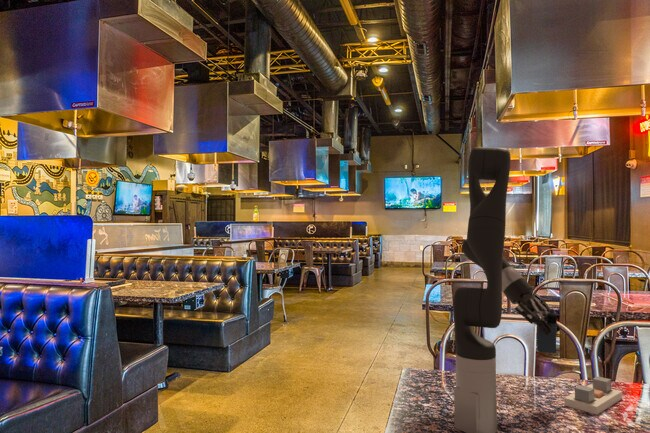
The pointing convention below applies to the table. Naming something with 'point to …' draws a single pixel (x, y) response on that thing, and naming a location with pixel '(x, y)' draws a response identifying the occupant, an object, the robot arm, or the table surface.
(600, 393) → the key mid
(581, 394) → the key left
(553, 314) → the vaping device
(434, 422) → the table surface
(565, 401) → the keypad base
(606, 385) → the key right
